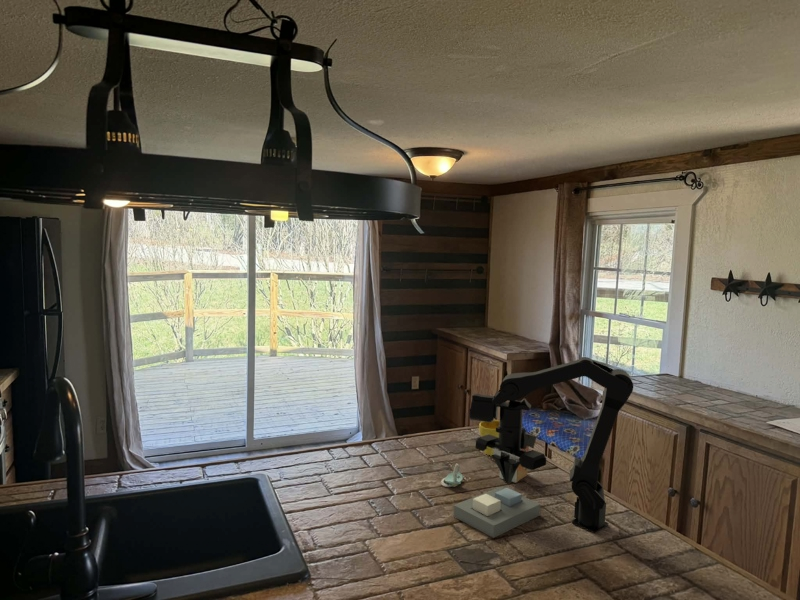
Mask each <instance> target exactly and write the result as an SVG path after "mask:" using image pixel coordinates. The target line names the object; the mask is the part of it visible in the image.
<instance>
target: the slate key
mask: <svg viewBox="0 0 800 600" xmlns="http://www.w3.org/2000/svg"><path fill="white" fill-rule="evenodd" d="M504 488H505V489H503V490H500V491H498V492H495V498H496V499H498V500H501V503H502V504H504V505H506V506H508V507H511V506H513V505H516V504H518V503H520V502H521V499H522V496H523V495H522V493H520V492H518V491H515V490H514V489H511V488H508V487H504Z"/></svg>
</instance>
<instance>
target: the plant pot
mask: <svg viewBox="0 0 800 600" xmlns="http://www.w3.org/2000/svg"><path fill="white" fill-rule="evenodd" d="M499 421H500V419H499V420H498V419H494V420H493V422H484V421H479V422H480V423H479V424H478V425H479V426H478V431H479V432H478V433H479V435H480V437H482V436H485V435H489V434H490V435H492V436H495V437H498V438H499V433H498V432H496V428H497V427H499ZM483 452H484V453H483V454H485V455H486V454H487V455H486V456H489V455H490V456H489V457H492V455H494V450H493V448H490V447H487V449H486V450H485V451H483Z"/></svg>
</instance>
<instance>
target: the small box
mask: <svg viewBox="0 0 800 600" xmlns="http://www.w3.org/2000/svg"><path fill="white" fill-rule="evenodd" d="M529 448H530V447H529V446H527V448H526V449H521V450H522V451H525V452H528V451H529ZM526 476H528V469H527V468H525V467H522V466H521V465H519V466H518V468H517V470H516V472H515V474H514V476H513V479H512V481H511V483H512V482H513V483H518V482H519V481H521V480H522V479H524V478H525V477H526ZM498 477H499V478H500V479H502V480H504V478H503V476H502V474H501V471H500V470H499V476H498Z"/></svg>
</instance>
